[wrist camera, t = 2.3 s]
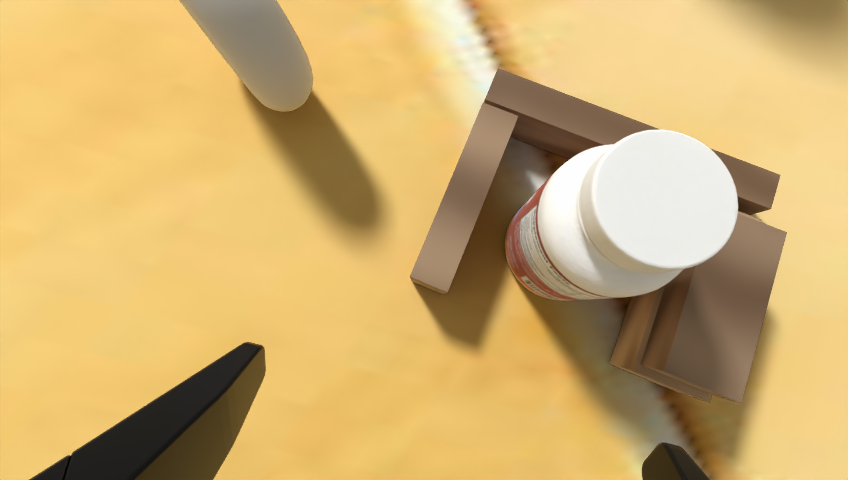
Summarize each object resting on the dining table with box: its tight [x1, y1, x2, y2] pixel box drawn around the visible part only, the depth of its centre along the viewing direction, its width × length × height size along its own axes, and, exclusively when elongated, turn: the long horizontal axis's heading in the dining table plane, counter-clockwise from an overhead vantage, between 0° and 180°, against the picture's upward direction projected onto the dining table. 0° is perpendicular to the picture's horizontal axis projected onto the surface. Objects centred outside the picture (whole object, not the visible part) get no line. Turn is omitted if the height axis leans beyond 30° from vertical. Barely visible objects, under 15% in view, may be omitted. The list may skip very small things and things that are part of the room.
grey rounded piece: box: [179, 0, 313, 112], centre depth 21 cm, size 10×4×10 cm, turn 39°
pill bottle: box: [505, 130, 738, 301], centre depth 18 cm, size 6×6×11 cm
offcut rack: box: [410, 68, 787, 403], centre depth 22 cm, size 12×16×4 cm
